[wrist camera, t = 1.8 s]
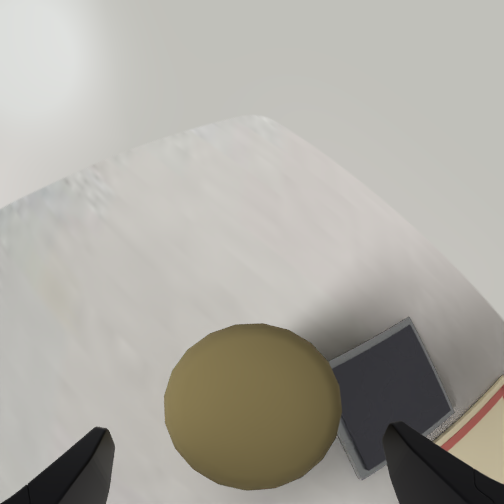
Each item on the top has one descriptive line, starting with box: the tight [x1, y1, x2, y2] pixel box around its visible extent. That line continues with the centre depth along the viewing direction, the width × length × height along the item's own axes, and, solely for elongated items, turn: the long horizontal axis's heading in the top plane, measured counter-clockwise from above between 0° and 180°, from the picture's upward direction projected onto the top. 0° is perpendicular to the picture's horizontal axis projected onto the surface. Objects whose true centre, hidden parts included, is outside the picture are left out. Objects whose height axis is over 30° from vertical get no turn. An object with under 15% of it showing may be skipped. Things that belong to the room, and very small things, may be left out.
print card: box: [433, 375, 504, 484], centre depth 14 cm, size 10×10×1 cm
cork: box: [164, 323, 342, 490], centre depth 12 cm, size 6×6×11 cm
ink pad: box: [328, 317, 454, 480], centre depth 17 cm, size 8×8×1 cm
